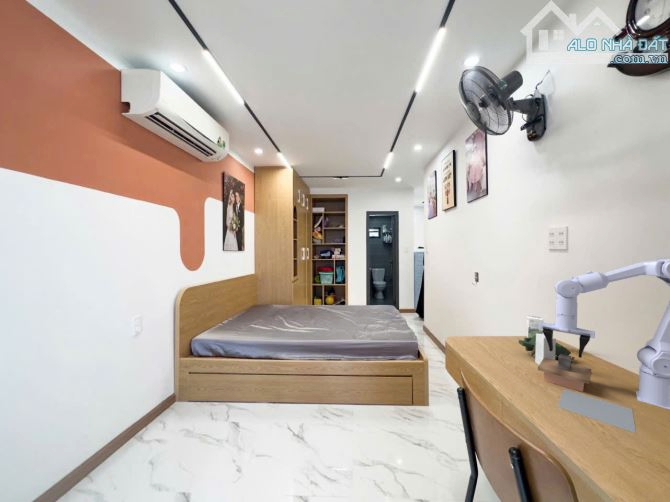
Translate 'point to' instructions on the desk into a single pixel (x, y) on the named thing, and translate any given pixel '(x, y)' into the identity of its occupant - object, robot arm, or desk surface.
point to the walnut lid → (565, 369)
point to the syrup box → (533, 326)
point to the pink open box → (564, 381)
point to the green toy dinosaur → (531, 346)
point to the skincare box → (543, 349)
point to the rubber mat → (598, 410)
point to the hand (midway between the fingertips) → (565, 353)
